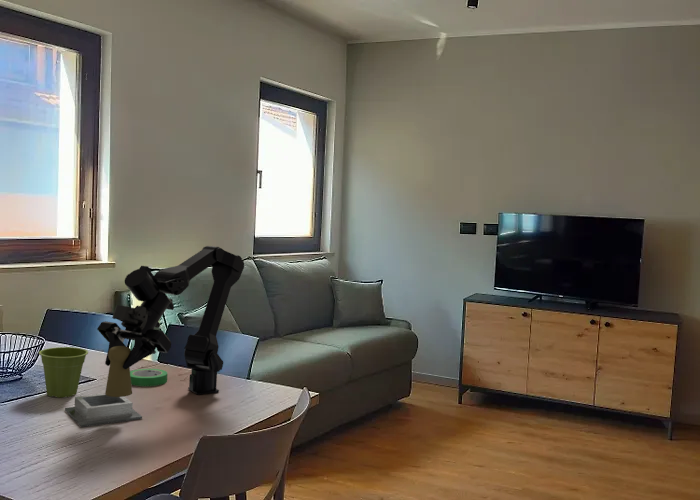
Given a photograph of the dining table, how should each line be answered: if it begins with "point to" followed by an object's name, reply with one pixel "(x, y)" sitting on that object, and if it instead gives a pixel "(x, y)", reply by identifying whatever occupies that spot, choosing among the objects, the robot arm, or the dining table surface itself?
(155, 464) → the dining table surface
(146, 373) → the tape roll
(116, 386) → the olive knobbed peg
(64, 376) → the plant pot
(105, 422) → the steel collar socket
